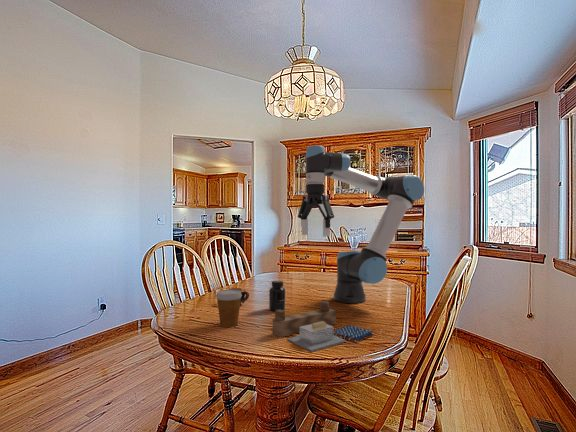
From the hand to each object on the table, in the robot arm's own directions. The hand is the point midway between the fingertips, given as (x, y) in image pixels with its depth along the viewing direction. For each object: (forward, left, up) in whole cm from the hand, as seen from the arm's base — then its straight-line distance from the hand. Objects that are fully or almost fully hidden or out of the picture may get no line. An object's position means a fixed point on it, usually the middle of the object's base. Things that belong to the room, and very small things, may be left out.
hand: (315, 235), depth 148 cm
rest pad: (+21, +26, -32) cm, 46 cm away
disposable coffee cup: (+36, -6, -32) cm, 48 cm away
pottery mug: (+20, -31, -32) cm, 49 cm away
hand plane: (+16, +14, -32) cm, 38 cm away
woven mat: (+8, +28, -32) cm, 44 cm away
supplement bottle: (+10, -13, -32) cm, 36 cm away
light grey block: (+21, +26, -31) cm, 46 cm away
